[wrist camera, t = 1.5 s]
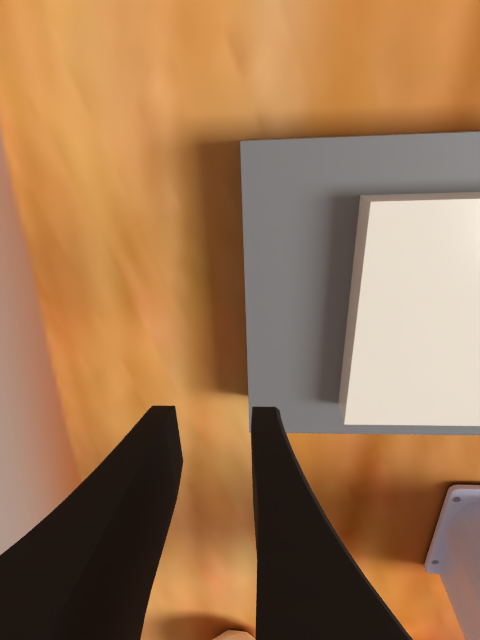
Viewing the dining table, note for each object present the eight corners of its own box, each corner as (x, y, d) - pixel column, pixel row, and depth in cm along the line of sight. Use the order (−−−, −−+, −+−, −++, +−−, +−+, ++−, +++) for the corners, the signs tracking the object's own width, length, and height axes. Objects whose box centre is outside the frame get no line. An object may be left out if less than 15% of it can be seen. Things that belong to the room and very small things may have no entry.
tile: (483, 404, 18) (501, 426, 17) (338, 403, 18) (344, 424, 17) (554, 189, 14) (586, 195, 12) (360, 195, 14) (370, 201, 13)
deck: (528, 398, 21) (566, 436, 19) (251, 396, 22) (249, 432, 20) (636, 124, 15) (717, 122, 12) (243, 139, 16) (240, 141, 13)
